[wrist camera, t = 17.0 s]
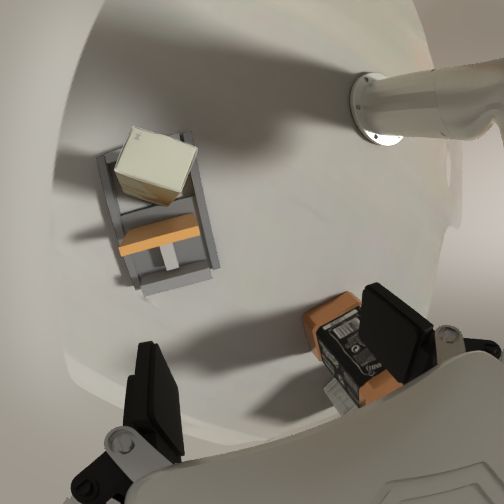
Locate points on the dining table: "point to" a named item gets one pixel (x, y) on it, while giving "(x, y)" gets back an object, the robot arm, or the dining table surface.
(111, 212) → the grey shallow rectangular tray
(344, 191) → the dining table surface
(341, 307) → the whiskey bottle
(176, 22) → the dining table surface
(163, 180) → the skincare box
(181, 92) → the dining table surface
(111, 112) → the dining table surface
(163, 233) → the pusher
